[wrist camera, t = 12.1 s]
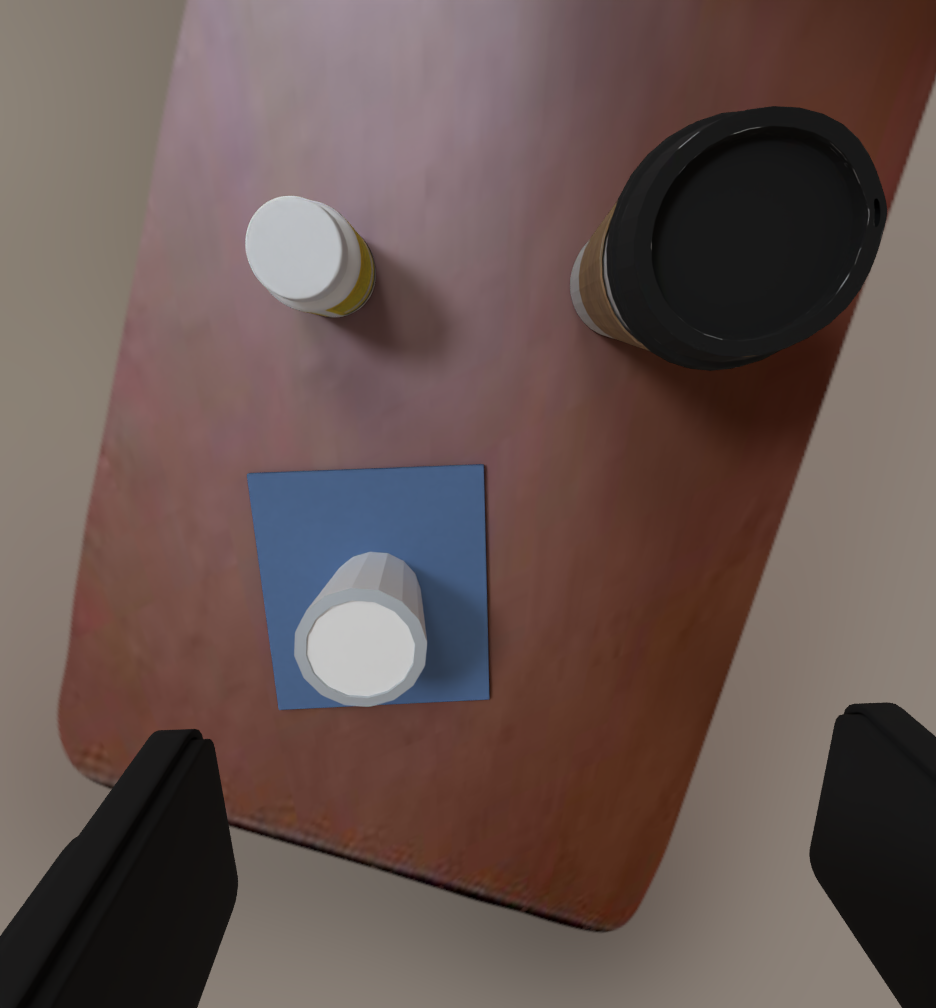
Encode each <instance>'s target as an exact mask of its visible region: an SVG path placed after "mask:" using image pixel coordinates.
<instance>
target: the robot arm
mask: <svg viewBox="0 0 936 1008" xmlns="http://www.w3.org/2000/svg"><path fill="white" fill-rule="evenodd" d="M810 863H811V866H812V869H813V872H814V874H815V876H816V878H817V880H818V882H819V883H820V885H821V886H822V888H823V889H824V891H825V892H826V894H827V895H828V897H829V898H830V900H831V901H832V903H833V904H834V906H835V907H836V909H837V910H838V912H839V913H840V915H841V916H842V918H843V919H844V921H845V922H846V924H847V925H848V927H849V928H850V930H851V931H852V933H853V934H854V936H855V938H856V939H857V941H858V942H859V943H860V945H861V946H862V948H863V950H864V951H865V953H866V954H867V955H868V957H869V959H870V960H871V962H872V963H873V965H874V966H875V968H876V969H877V971H878V972H879V974H880V975H881V977H882V978H883V980H884V981H885V983H886V984H887V986H888V987H889V989H890V990H891V992H892V993H893V995H894V996H895V998H896V999H897V1001H898V1002H899V1004H900V1005H901V1007H902V1008H936V737H935V736H934V735H933V734H932V733H931V732H929V731H928V730H927V729H926V728H925V727H924V726H922V725H921V724H920V723H919V722H918V721H916V720H915V719H914V718H913V717H911V715H909V714H908V713H907V712H906V711H905V710H904V709H902V708H901V707H899V706H898V705H896V704H893V703H864V704H852V705H849V706H848V707H847V708H846V709H845V712H844V714H843V715H839V717H838V718H837V719H836V722H835V725H834V730H833V735H832V740H831V745H830V750H829V755H828V760H827V765H826V770H825V776H824V780H823V786H822V790H821V795H820V800H819V806H818V811H817V816H816V821H815V826H814V831H813V836H812V841H811V846H810ZM237 889H238V876H237V870H236V865H235V859H234V854H233V848H232V842H231V836H230V831H229V825H228V820H227V814H226V808H225V803H224V797H223V792H222V786H221V780H220V775H219V769H218V764H217V758H216V752H215V747H214V744H213V742H212V740H210V739H203V737H202V734H201V733H200V731H199V730H196V729H185V730H159V731H156V732H154V733H153V734H152V735H151V736H150V737H149V738H148V740H147V741H146V743H145V744H144V745H143V747H142V748H141V750H140V751H139V752H138V754H137V755H136V757H135V758H134V759H133V761H132V762H131V764H130V765H129V766H128V768H127V769H126V770H125V772H124V773H123V775H122V776H121V777H120V779H119V780H118V782H117V783H116V784H115V786H114V787H113V789H112V790H111V791H110V793H109V794H108V795H107V797H106V798H105V800H104V801H103V802H102V804H101V805H100V807H99V808H98V809H97V811H96V812H95V814H94V815H93V816H92V818H91V819H90V821H89V822H88V823H87V825H86V826H85V827H84V829H83V830H82V832H81V833H80V835H79V836H78V837H76V838H74V839H73V840H72V841H71V842H70V843H69V844H68V845H67V846H66V847H65V849H64V850H63V851H62V852H61V854H60V855H59V856H58V858H57V859H56V860H55V862H54V863H53V864H52V866H51V867H50V869H49V870H48V871H47V873H46V874H45V876H44V877H43V878H42V880H41V881H40V882H39V884H38V885H37V886H36V888H35V889H34V891H33V892H32V893H31V895H30V896H29V897H28V899H27V900H26V902H25V903H24V904H23V906H22V907H21V908H20V910H19V911H18V912H17V914H16V915H15V917H14V918H13V919H12V921H11V922H10V923H9V925H8V926H7V928H6V929H5V930H4V932H3V933H2V935H1V936H0V1008H197V1007H198V1004H199V1001H200V998H201V996H202V993H203V990H204V987H205V985H206V982H207V979H208V977H209V974H210V971H211V968H212V966H213V963H214V960H215V957H216V955H217V952H218V949H219V946H220V943H221V941H222V938H223V935H224V932H225V930H226V927H227V925H228V922H229V919H230V916H231V913H232V911H233V908H234V905H235V901H236V896H237Z"/></svg>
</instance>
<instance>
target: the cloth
mask: <svg viewBox="0 0 936 1008" xmlns="http://www.w3.org/2000/svg"><path fill="white" fill-rule="evenodd" d="M247 479H248V487H249V494H250V501H251V509H252V516H253V523H254V531H255V538H256V545H257V553H258V560H259V567H260V575H261V582H262V590H263V597H264V604H265V612H266V619H267V626H268V634H269V641H270V648H271V656H272V663H273V670H274V678H275V685H276V692H277V700H278V707H279V710H287V709H307V708H327V707H347V706H351V705H343V704H341V703H339V702H336V701H334V700H332V699H329V698H327V697H325V696H323V695H321V694H320V693H319V692H318V691H317V690H316V689H315V688H314V687H313V686H312V685H311V684H309V683H308V682H307V681H306V680H305V679H304V678H303V675H302V673H301V671H300V668H299V666H298V663H297V661H296V659H295V656H294V648H295V631H296V629H297V628H298V626H299V624H300V622H301V620H302V618H303V616H304V614H305V612H306V610H307V609H308V608H309V607H310V605H311V604H312V603H313V601H314V600H315V599H316V597H317V596H318V595H319V594H320V592H321V591H322V590H323V588H324V587H325V586H326V584H327V583H328V582H329V581H330V579H331V578H332V577H333V575H334V574H335V573H336V572H337V570H338V569H339V568H340V567H341V566H342V565H343V564H345V563H346V562H347V561H348V560H350V559H351V558H352V557H354V556H357V555H361V554H364V553H367V552H379V553H388V554H390V555H392V556H395V557H397V558H399V559H401V560H403V561H404V562H405V563H406V564H407V565H408V566H409V567H410V568H411V569H412V571H413V572H414V573H415V574H416V577H417V580H418V583H419V586H420V589H421V596H422V604H423V612H424V620H425V629H426V637H427V650H426V660H425V666H424V668H423V670H422V672H421V673H420V675H419V677H418V678H417V680H416V682H415V683H414V685H413V686H412V687H411V688H409V689H408V690H407V691H405V692H404V693H403V694H401V695H400V696H399V697H397V698H396V699H395V700H392V701H389V702H385V703H382V704H378V705H387V704H407V703H427V702H448V701H468V700H488V699H489V659H488V618H487V576H486V534H485V492H484V465H483V464H476V465H449V466H423V467H397V468H370V469H344V470H318V471H292V472H265V473H249V474H247Z"/></svg>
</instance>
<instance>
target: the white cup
mask: <svg viewBox="0 0 936 1008" xmlns="http://www.w3.org/2000/svg"><path fill="white" fill-rule="evenodd" d="M426 650H427V637H426V629H425V620H424V612H423V604H422V596H421V589H420V586H419V583H418V580H417V577H416V574H415V573H414V572H413V571H412V569H411V568H410V567H409V566H408V565H407V564H406V563H405V562H404V561H403V560H401V559H399V558H397V557H395V556H392V555H390V554H388V553H379V552H367V553H364V554H361V555H357V556H354V557H352V558H351V559H350V560H348V561H347V562H346V563H345V564H343V565H342V566H341V567H340V568H339V569H338V570H337V572H336V573H335V574H334V575H333V577H332V578H331V579H330V581H329V582H328V583H327V584H326V586H325V587H324V588H323V590H322V591H321V592H320V594H319V595H318V596H317V597H316V599H315V600H314V601H313V603H312V604H311V605H310V607H309V608H308V609H307V610H306V612H305V614H304V616H303V618H302V620H301V622H300V624H299V626H298V628H297V629H296V631H295V648H294V656H295V659H296V661H297V663H298V666H299V668H300V671H301V673H302V675H303V678H304V679H305V680H306V681H307V682H308V683H309V684H311V685H312V686H313V687H314V688H315V689H316V690H317V691H318V692H319V693H320V694H321V695H323V696H325V697H327V698H329V699H332V700H334V701H336V702H339V703H341V704H343V705H351V706H365V707H371V706H374V705H378V704H382V703H385V702H389V701H392V700H395V699H396V698H397V697H399V696H400V695H401V694H403V693H404V692H405V691H407V690H408V689H409V688H411V687H412V686H413V685H414V683H415V682H416V680H417V678H418V677H419V675H420V673H421V672H422V670H423V668H424V666H425V660H426Z"/></svg>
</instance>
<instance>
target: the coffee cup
mask: <svg viewBox="0 0 936 1008" xmlns="http://www.w3.org/2000/svg"><path fill="white" fill-rule="evenodd" d="M886 216H887V205H886V200H885V196H884V192H883V189H882V186H881V183H880V180H879V177H878V174H877V171H876V169H875V167H874V164H873V162H872V160H871V158H870V156H869V154H868V152H867V151H866V149H865V148H864V146H863V145H862V143H861V142H860V140H859V139H858V138H857V137H856V136H855V135H854V134H853V133H852V132H851V131H850V130H849V129H848V128H846V127H845V126H844V125H843V124H842V123H840V122H838V121H836V120H834V119H832V118H830V117H828V116H826V115H824V114H822V113H818V112H814V111H810V110H806V109H803V108H796V107H777V106H772V107H765V108H757V109H750V110H745V111H738V112H728V113H721V114H718V115H715V116H712V117H709V118H706V119H703V120H699V121H697V122H695V123H693V124H691V125H688V126H687V127H685V128H683V129H682V130H680V131H678V132H676V133H675V134H673V135H671V136H669V137H668V138H666V139H665V140H664V141H663V142H662V143H661V144H659V145H658V146H657V147H656V148H655V149H654V150H652V151H651V152H650V153H649V154H648V155H647V156H646V157H645V159H644V160H643V161H642V162H641V163H640V165H639V166H638V167H637V168H636V170H635V171H634V172H633V173H632V175H631V176H630V178H629V180H628V182H627V184H626V185H625V187H624V189H623V191H622V193H621V195H620V197H619V198H618V201H617V202H616V203H615V205H614V206H613V208H612V209H611V210H610V212H609V213H608V214H607V216H606V217H605V219H604V220H603V221H602V223H601V224H600V226H599V227H598V228H597V230H596V231H595V233H594V234H593V235H592V237H591V239H590V240H589V241H588V242H587V243H586V245H585V246H584V247H583V248H582V250H581V251H580V253H579V255H578V257H577V259H576V260H575V263H574V266H573V269H572V273H571V280H570V293H571V298H572V302H573V305H574V307H575V310H576V312H577V314H578V315H579V317H580V318H581V319H582V321H583V322H584V323H585V324H586V325H587V326H588V327H589V328H590V329H592V330H594V331H595V332H597V333H599V334H601V335H604V336H607V337H610V338H614V339H617V340H619V341H622V342H625V343H628V344H631V345H634V346H636V347H639V348H642V349H645V350H648V351H651V352H652V353H654V354H656V355H658V356H659V357H661V358H663V359H665V360H666V361H668V362H670V363H674V364H677V365H680V366H683V367H686V368H690V369H699V370H709V371H712V370H722V369H731V368H735V367H740V366H744V365H747V364H750V363H753V362H756V361H760V360H762V359H764V358H766V357H768V356H770V355H772V354H774V353H776V352H778V351H780V350H782V349H785V348H787V347H789V346H791V345H794V344H796V343H798V342H800V341H802V340H804V339H806V338H808V337H810V336H811V335H813V334H815V333H816V332H818V331H819V330H821V329H822V328H824V327H825V326H827V325H828V324H829V323H831V322H832V321H833V320H834V319H835V318H836V317H837V316H838V315H839V314H840V313H841V312H842V311H844V310H845V309H846V308H847V307H848V305H849V304H850V303H851V301H852V300H853V299H854V297H855V296H856V295H857V293H858V292H859V291H860V289H861V287H862V285H863V283H864V282H865V280H866V278H867V276H868V274H869V272H870V270H871V267H872V265H873V262H874V260H875V257H876V254H877V251H878V248H879V245H880V241H881V238H882V234H883V230H884V227H885V222H886Z"/></svg>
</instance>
